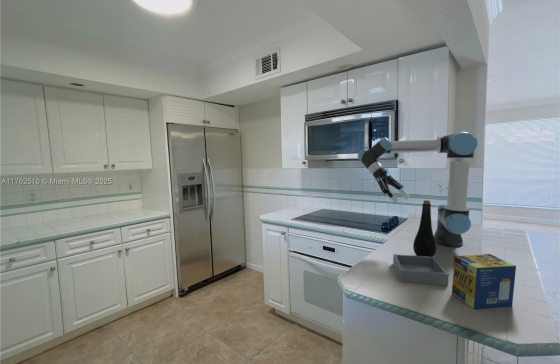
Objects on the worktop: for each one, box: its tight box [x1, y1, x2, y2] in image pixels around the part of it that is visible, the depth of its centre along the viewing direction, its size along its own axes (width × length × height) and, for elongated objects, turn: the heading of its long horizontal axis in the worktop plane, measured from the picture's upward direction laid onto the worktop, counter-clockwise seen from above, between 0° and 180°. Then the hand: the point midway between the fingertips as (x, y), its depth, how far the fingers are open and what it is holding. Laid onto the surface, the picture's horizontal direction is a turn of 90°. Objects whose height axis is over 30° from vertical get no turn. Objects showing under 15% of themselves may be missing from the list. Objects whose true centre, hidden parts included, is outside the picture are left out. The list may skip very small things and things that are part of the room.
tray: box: [392, 253, 449, 287], centre depth 117 cm, size 18×18×5 cm
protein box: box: [451, 253, 517, 310], centre depth 95 cm, size 10×15×16 cm
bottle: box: [412, 200, 437, 257], centre depth 133 cm, size 11×11×30 cm
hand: (402, 199), depth 141 cm, fingers open, 13 cm apart
